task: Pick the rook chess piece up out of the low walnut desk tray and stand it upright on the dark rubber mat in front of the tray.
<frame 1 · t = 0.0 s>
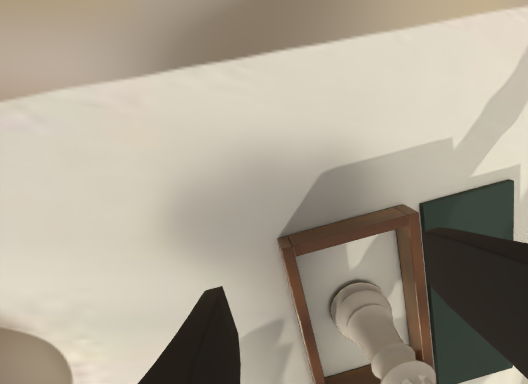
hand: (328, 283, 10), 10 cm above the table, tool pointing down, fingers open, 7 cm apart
rook chess piece: (354, 302, 22), resting in desk tray
desk mat: (469, 292, 23), on the table
desk tray: (355, 303, 22), on the table
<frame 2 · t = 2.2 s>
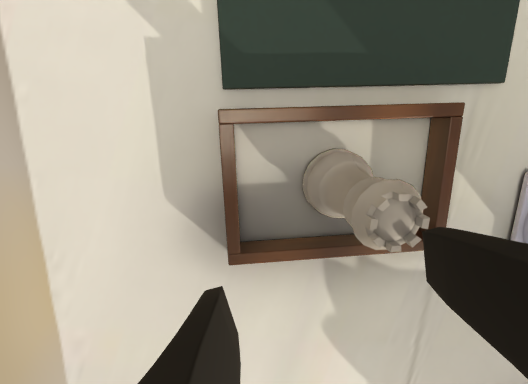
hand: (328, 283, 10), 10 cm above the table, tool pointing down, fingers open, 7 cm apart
rook chess piece: (332, 180, 19), resting in desk tray
desk mat: (371, 23, 17), on the table
desk tray: (333, 180, 19), on the table
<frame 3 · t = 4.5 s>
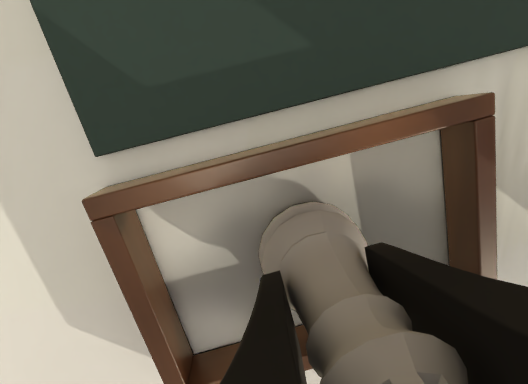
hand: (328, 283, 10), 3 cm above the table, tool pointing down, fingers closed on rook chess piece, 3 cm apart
rook chess piece: (306, 244, 13), resting in desk tray, touching gripper
desk tray: (307, 245, 12), on the table
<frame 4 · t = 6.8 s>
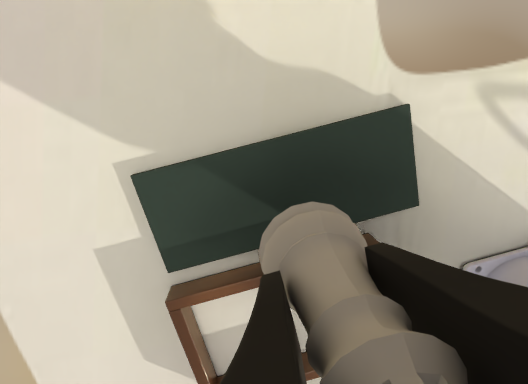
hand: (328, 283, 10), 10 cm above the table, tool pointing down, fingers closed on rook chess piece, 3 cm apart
rook chess piece: (306, 244, 13), point 6 cm above the table, touching gripper
desk mat: (283, 190, 19), on the table
desk tray: (285, 313, 21), on the table
when the fingers open (3 cm above the table, at t = 9.0 s): rook chess piece stays where it is, resting on desk mat.
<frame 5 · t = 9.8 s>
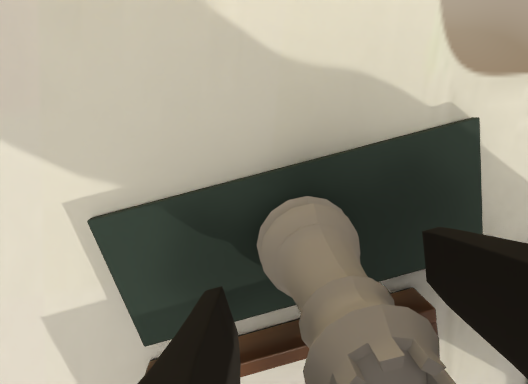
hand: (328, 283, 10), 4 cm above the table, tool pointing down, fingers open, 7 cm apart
rook chess piece: (301, 236, 13), resting on desk mat
desk mat: (301, 234, 14), on the table
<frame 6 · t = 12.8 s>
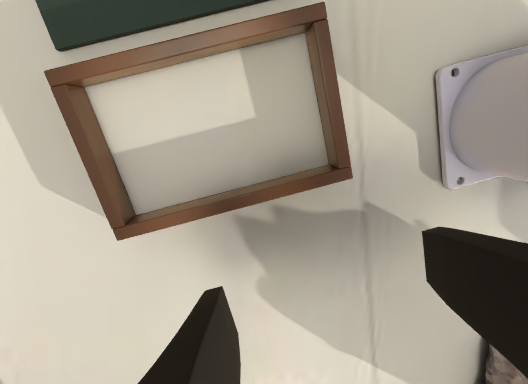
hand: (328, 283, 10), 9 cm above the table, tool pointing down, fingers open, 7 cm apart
desk tray: (215, 128, 17), on the table
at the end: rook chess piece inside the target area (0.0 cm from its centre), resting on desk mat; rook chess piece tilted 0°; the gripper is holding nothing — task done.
